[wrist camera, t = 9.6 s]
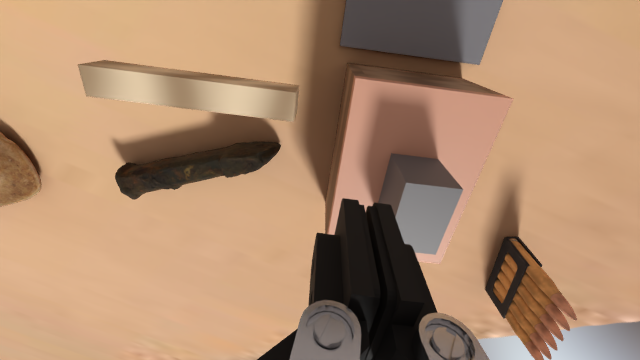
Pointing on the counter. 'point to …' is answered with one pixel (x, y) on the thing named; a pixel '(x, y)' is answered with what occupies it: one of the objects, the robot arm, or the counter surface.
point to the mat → (421, 27)
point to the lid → (416, 155)
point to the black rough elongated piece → (194, 168)
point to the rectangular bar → (190, 90)
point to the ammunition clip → (528, 298)
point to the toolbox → (386, 75)
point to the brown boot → (16, 174)
